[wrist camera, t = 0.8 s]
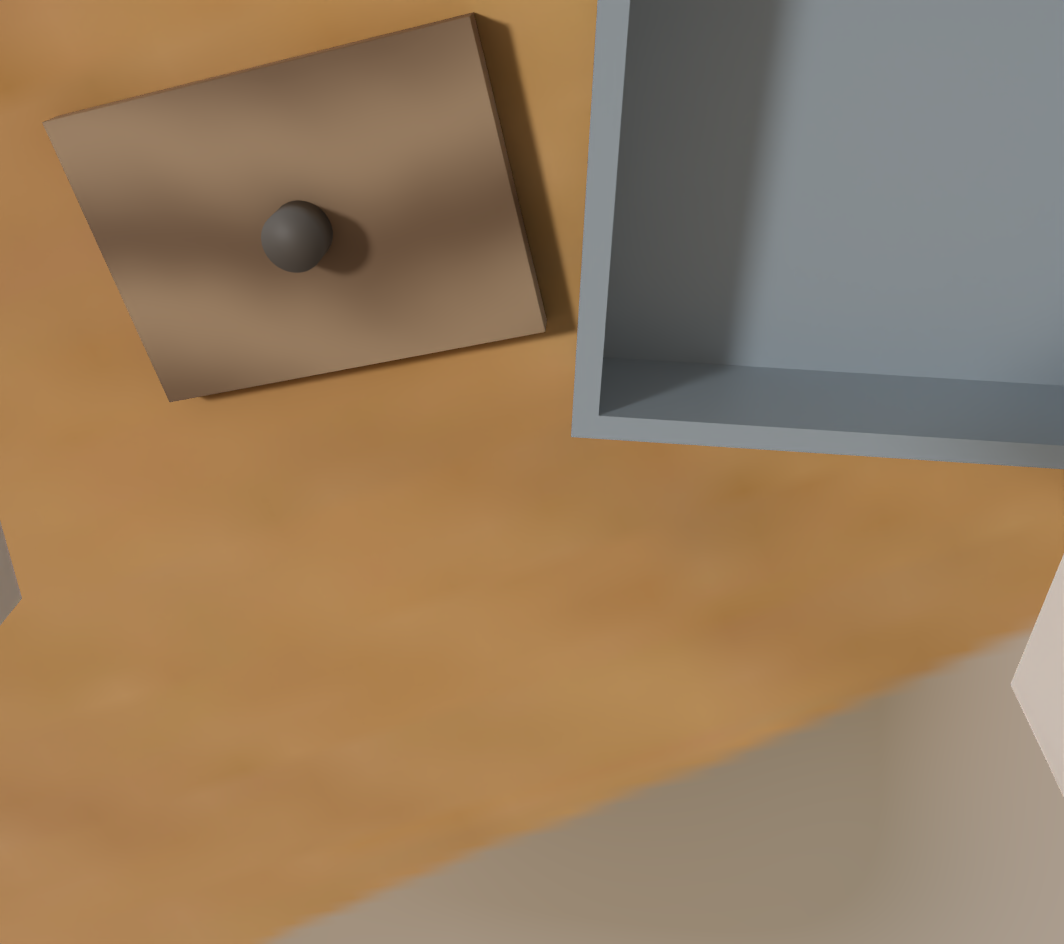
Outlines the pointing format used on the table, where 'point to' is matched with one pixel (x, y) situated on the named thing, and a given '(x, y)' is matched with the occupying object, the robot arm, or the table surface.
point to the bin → (826, 228)
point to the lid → (309, 212)
